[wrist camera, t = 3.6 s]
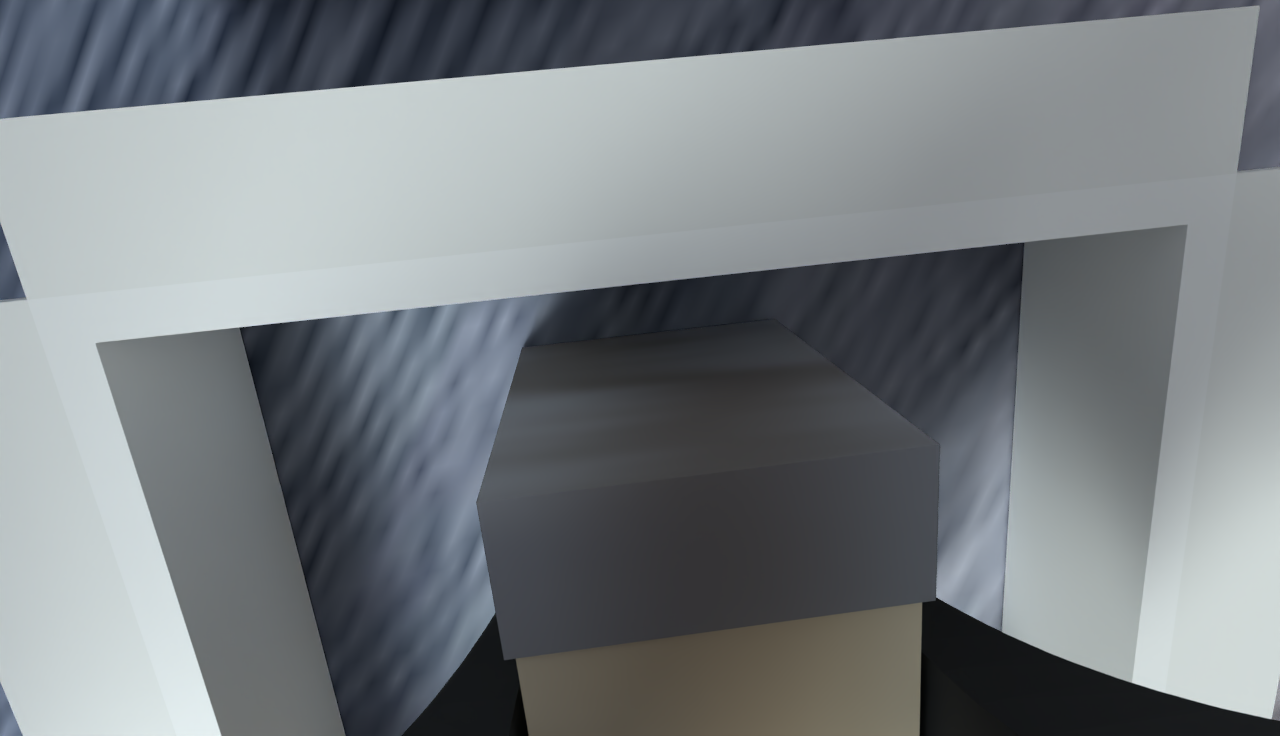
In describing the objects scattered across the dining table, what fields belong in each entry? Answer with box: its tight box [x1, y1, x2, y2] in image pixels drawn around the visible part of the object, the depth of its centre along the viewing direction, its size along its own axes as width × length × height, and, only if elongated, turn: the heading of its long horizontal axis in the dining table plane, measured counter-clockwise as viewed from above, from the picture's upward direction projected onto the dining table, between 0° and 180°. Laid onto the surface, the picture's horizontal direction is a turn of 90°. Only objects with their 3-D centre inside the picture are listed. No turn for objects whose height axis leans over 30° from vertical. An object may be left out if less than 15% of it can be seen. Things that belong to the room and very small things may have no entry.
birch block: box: [476, 319, 940, 736], centre depth 11 cm, size 5×9×6 cm, turn 5°
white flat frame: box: [0, 6, 1280, 736], centre depth 12 cm, size 19×17×4 cm
